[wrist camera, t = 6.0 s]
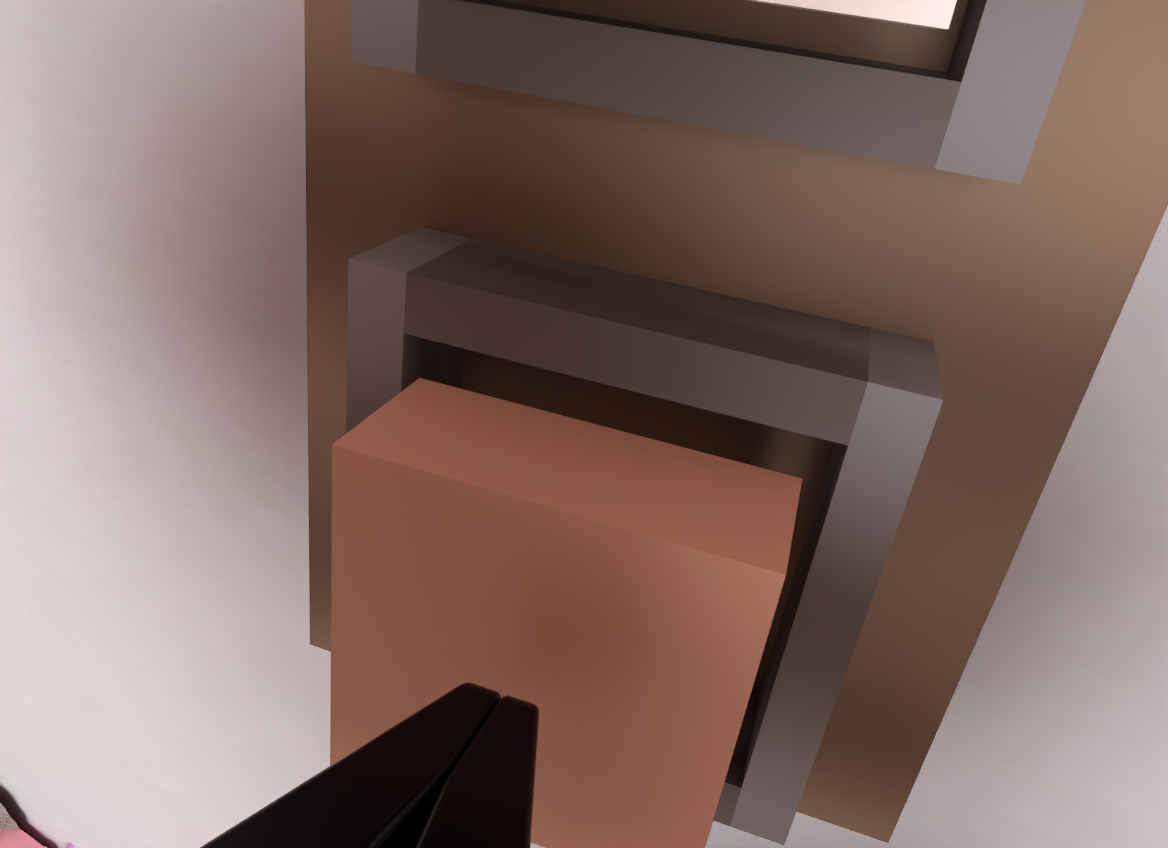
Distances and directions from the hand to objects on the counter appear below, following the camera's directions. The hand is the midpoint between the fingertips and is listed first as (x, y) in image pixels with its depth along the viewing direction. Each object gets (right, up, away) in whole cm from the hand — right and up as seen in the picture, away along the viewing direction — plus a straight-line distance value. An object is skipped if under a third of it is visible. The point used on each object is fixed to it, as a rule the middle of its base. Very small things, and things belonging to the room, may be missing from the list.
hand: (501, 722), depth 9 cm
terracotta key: (+1, +1, +2) cm, 3 cm away
